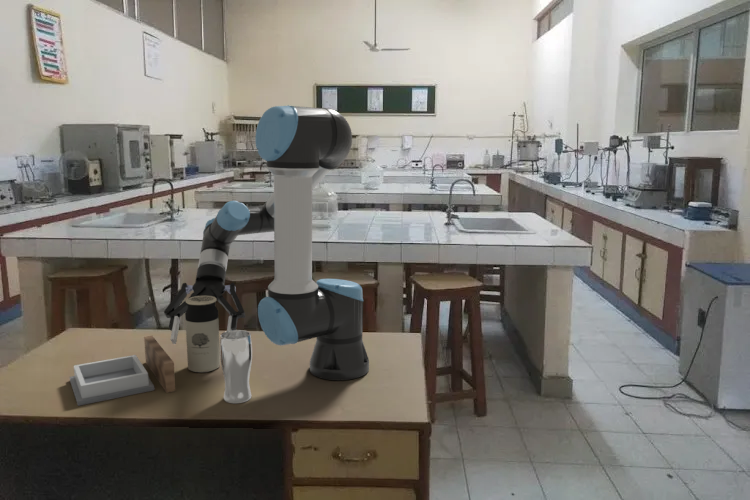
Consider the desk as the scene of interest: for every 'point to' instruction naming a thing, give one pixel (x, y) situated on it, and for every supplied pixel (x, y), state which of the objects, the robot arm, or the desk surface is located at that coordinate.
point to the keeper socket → (109, 379)
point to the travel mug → (202, 334)
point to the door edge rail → (160, 364)
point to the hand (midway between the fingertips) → (200, 341)
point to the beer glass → (236, 364)
